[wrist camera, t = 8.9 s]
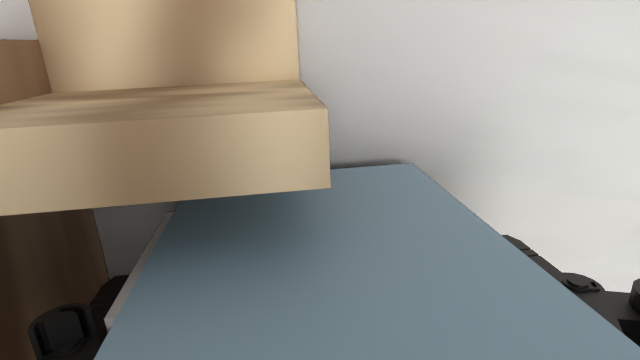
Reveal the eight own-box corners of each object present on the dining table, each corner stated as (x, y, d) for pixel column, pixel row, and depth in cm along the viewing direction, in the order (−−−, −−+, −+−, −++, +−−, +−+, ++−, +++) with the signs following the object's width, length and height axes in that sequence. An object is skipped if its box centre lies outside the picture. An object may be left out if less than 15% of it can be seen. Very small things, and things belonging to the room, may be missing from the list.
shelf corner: (80, 329, 20) (-148, 679, 9) (-5, 42, 16) (-668, 38, 5) (364, 296, 22) (468, 560, 11) (363, 27, 17) (541, -3, 6)
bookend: (73, 137, 17) (-109, 224, 9) (35, -15, 15) (-244, -86, 7) (300, 121, 18) (331, 187, 10) (292, -21, 16) (320, -90, 8)
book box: (202, 261, 19) (85, 677, 6) (190, 180, 17) (11, 511, 5) (408, 240, 20) (645, 560, 7) (411, 163, 18) (703, 398, 6)
